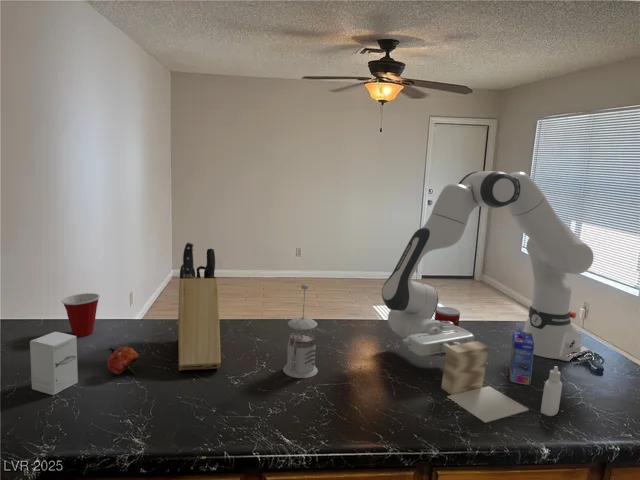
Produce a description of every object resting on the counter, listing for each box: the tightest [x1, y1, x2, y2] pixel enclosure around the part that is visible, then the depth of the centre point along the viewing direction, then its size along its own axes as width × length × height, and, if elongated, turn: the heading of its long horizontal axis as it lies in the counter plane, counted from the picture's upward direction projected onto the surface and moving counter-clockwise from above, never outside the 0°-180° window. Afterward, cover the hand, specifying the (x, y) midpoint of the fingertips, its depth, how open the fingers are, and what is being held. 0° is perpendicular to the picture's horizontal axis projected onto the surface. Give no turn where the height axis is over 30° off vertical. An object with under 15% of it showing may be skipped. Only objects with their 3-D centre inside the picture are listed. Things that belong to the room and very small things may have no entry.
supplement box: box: [29, 331, 79, 396], centre depth 118 cm, size 7×7×13 cm
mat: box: [447, 385, 530, 424], centre depth 123 cm, size 15×13×1 cm
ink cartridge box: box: [508, 326, 534, 386], centre depth 138 cm, size 10×6×14 cm, turn 161°
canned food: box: [433, 306, 461, 327], centre depth 163 cm, size 8×8×11 cm
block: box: [440, 340, 490, 395], centre depth 129 cm, size 11×4×12 cm, turn 118°
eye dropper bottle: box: [540, 365, 563, 417], centre depth 120 cm, size 4×6×12 cm
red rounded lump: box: [107, 346, 139, 376], centre depth 128 cm, size 7×7×10 cm
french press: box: [282, 283, 318, 379], centre depth 133 cm, size 10×12×25 cm
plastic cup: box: [61, 292, 101, 338], centre depth 152 cm, size 11×11×12 cm
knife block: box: [177, 241, 222, 371], centre depth 143 cm, size 11×35×31 cm, turn 16°
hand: (461, 352), depth 131 cm, fingers closed
